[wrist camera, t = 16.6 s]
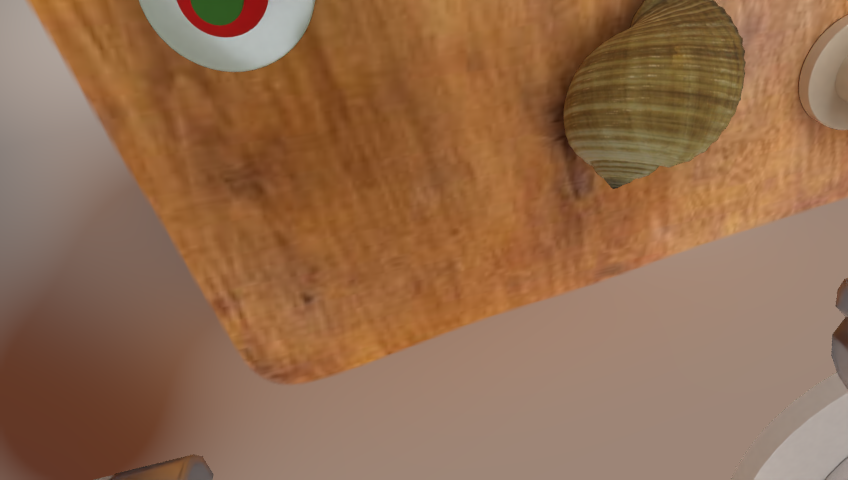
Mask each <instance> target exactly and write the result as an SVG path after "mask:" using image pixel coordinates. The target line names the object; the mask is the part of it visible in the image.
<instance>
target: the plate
mask: <svg viewBox="0 0 848 480" xmlns="http://www.w3.org/2000/svg"><path fill="white" fill-rule="evenodd" d="M139 3H140V6H141V8H142V10H143V12H144V14H145V16H146V18H147V20H148V21H149V23H150V24H151V26H152V27H153V29H154V30H155V31H156V33H157V34H158V35H159V36H160V37H161V39H162V40H164V41H165V42H166V43H167V44H168V45H169V46H170V47H171V48H172V49H173V50H175V51H176V52H177V53H179V54H180V55H182V56H183V57H185V58H187V59H188V60H190V61H192V62H194V63H196V64H198V65H201V66H204V67H207V68H210V69H214V70H219V71H226V72H245V71H251V70H256V69H259V68H262V67H265V66H268V65H270V64H272V63H274V62H276V61H277V60H279V59H280V58H282V57H283V56H285V55H286V54H287V53H288V52H289V51H291V50H292V49H293V48H294V46H295V45H296V44H297V43H298V42H299V41H300V39H301V38H302V36H303V34H304V33H305V31H306V29H307V27H308V25H309V23H310V20H311V17H312V14H313V11H314V5H315V0H268V5H267V8H266V11H265V13H264V15H263V17H262V19H261V20H260V22H259V23H258V24H257V25H256V26H255V27H254V28H253V29H251V30H250V31H248V32H247V33H244V34H242V35H239V36H235V37H226V38H225V37H217V36H212V35H209V34H207V33H205V32H203V31H201V30H199V29H198V28H196V27H195V26H194V25H193V24H191V22H190V21H189V20H188V19H187V18H186V17H185V16H184V14H183V13H182V11H181V9H180V7H179V5H178V3H177V0H139Z"/></svg>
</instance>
